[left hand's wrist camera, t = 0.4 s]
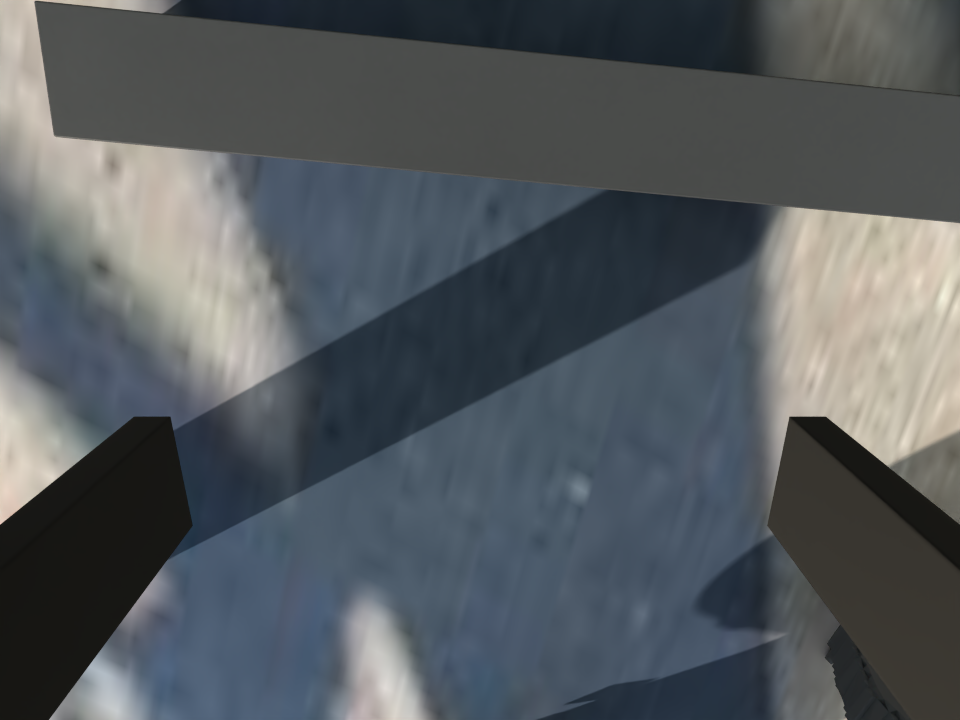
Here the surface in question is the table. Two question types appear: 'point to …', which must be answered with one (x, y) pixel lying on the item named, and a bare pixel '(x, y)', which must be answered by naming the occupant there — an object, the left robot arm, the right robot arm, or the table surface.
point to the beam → (498, 113)
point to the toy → (860, 683)
